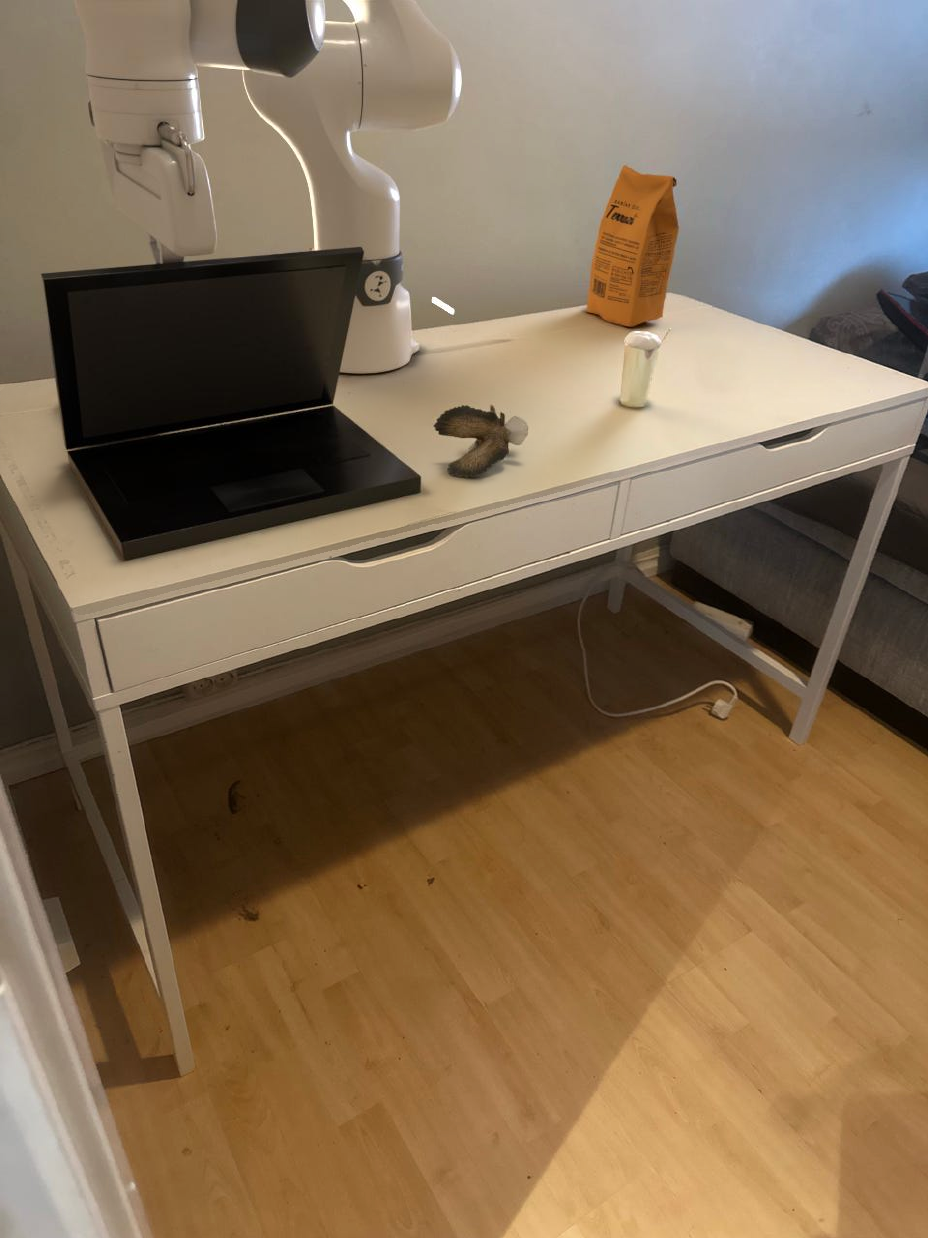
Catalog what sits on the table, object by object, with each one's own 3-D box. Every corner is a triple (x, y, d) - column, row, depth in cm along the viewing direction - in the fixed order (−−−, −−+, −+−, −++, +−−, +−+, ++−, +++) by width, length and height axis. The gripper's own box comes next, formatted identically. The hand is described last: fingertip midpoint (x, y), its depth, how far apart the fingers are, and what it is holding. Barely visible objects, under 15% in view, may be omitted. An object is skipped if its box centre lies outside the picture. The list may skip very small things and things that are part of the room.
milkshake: (656, 412, 113) (670, 333, 108) (613, 407, 114) (626, 329, 108) (656, 399, 117) (671, 323, 111) (616, 394, 118) (628, 318, 112)
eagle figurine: (472, 428, 103) (419, 435, 97) (508, 386, 99) (455, 390, 92) (507, 480, 102) (456, 491, 95) (545, 440, 97) (494, 448, 91)
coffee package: (620, 303, 154) (641, 161, 142) (670, 323, 146) (697, 175, 133) (575, 309, 150) (593, 164, 137) (624, 330, 141) (648, 178, 129)
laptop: (420, 492, 92) (421, 475, 91) (124, 561, 78) (120, 542, 77) (333, 419, 106) (333, 404, 105) (70, 466, 93) (66, 450, 91)
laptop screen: (365, 251, 88) (361, 246, 89) (43, 280, 75) (40, 273, 75) (333, 405, 105) (330, 399, 106) (66, 450, 92) (64, 444, 92)
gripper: (226, 132, 70) (242, 311, 78) (152, 101, 84) (172, 255, 92) (144, 134, 67) (170, 319, 75) (82, 101, 81) (109, 261, 89)
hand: (171, 284), depth 83 cm, fingers closed
